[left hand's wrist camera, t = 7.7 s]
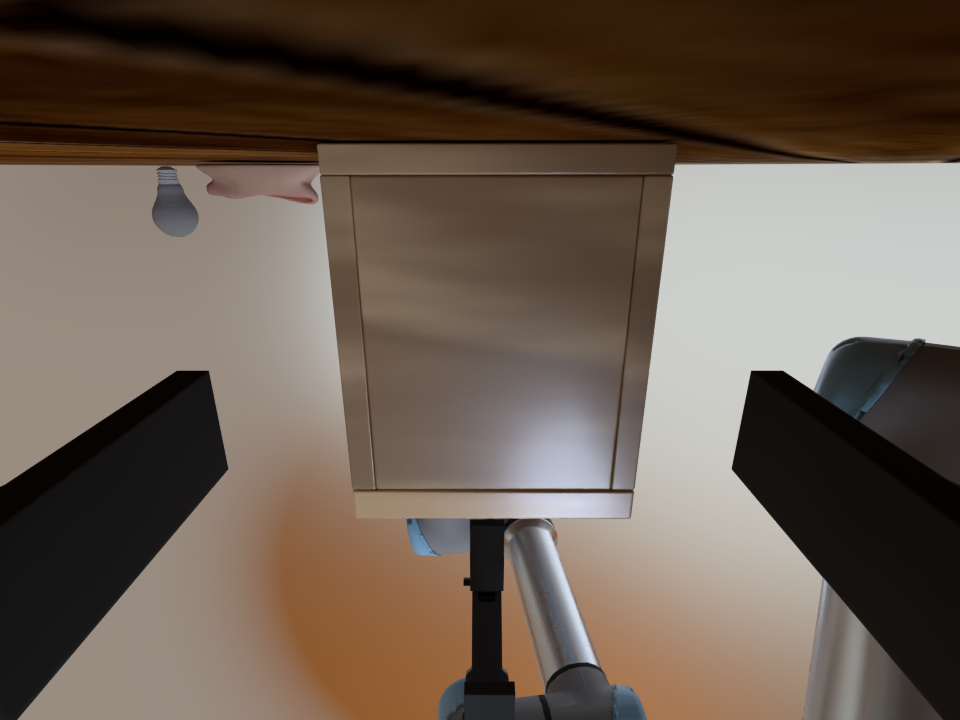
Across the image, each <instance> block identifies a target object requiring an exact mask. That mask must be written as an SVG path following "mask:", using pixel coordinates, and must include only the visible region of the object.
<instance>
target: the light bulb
mask: <svg viewBox="0 0 960 720" xmlns="http://www.w3.org/2000/svg"><path fill="white" fill-rule="evenodd" d="M156 171H158V173H157V174H158V177H159V179H158V182H159V185H158V188H157V191H158V195H157V198H156V201H155V203H154V206H153V209H152V217H153V221H154V223H155V224H156V226H157V227H158V228H159V229H160V230H161V231H163V232H164V233H166V234H167V235H170V236H175V237H183V236H186V235H189V234H191V233H192V232H193V231H194V230H195V228H196V226H197V224H198V220H199V217H198V213H197V210H196V208H195V207H194V206H193V204H192V203H191V202H190V201H189V199H188V198H187V197H186V195H185V194H184V191H183V188H182V186H181V185H180V183H179V180H177V178H178V177H177V174H176V171H177V170H176V169H174V168H171V167H169V166H163V167H160V168H158V169H157V170H156Z"/></svg>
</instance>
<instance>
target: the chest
mask: <svg viewBox="0 0 960 720" xmlns="http://www.w3.org/2000/svg"><path fill="white" fill-rule="evenodd" d="M317 151H318V160H319V170H320V174H321V176H320V181H321V191H322V201H323V210H324V220H325V230H326V239H327V249H328V259H329V268H330V278H331V287H332V297H333V307H334V316H335V326H336V336H337V345H338V355H339V364H340V374H341V383H342V393H343V403H344V413H345V422H346V432H347V442H348V451H349V461H350V470H351V480H352V488H353V489H376V487H377V489H610V487H611V489H613V490H633V489H634V488H635V480H636V472H637V464H638V456H639V447H640V440H641V432H642V424H643V416H644V408H645V399H646V391H647V384H648V375H649V367H650V359H651V351H652V343H653V335H654V327H655V319H656V311H657V303H658V295H659V287H660V279H661V271H662V263H663V255H664V247H665V239H666V231H667V223H668V215H669V207H670V199H671V191H672V183H673V176H672V174H673V173H674V166H675V159H676V151H677V144H676V143H318V144H317Z"/></svg>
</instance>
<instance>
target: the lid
mask: <svg viewBox="0 0 960 720" xmlns="http://www.w3.org/2000/svg"><path fill="white" fill-rule="evenodd" d="M633 495H634V491H633V490H613V489H611V487H610V489H377V487H376V489H354V490H353V497H354V506H355V516H356V518H517V519H630V517H631V511H632V503H633Z"/></svg>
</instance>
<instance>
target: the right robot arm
mask: <svg viewBox="0 0 960 720" xmlns="http://www.w3.org/2000/svg"><path fill="white" fill-rule="evenodd" d="M406 520H407V529H408V535H409V539H410V543H411V546H412V548H413V550H414V552H415V553H417V554H418V555H422V556H425V555H434V556H441V555H442V554H452V553H465V552H470V577H464V586H470V590H471V591H472V667H471V668H470V669H468V670H467V672H466V677H465V678H462V679H460V680H457V681H456V682H454V683H453V684H451V685H450V686H449V687H448V688H447V689H446V690H445V691H444V693H443V694H442V696H441V698H440V701H439V706H438V720H647V718H646V715H645V712H644V709H643V706H642V703H641V701H640V699H639V697H638V696H637V695H636V693H635V692H634V691H633V689H632V688H630V687H629V686H626V685H622V686H618V685H616V684H614V685H612V686H610V684H609V682H608V681H607V678H606V676H605V673H604V670H603V668H602V665H601V663H600V660H599V658H598V655H597V652H596V650H595V647H594V645H593V642H592V640H591V637H590V634H589V632H588V629H587V627H586V624H585V622H584V619H583V616H582V614H581V611H580V609H579V606H578V604H577V601H576V598H575V596H574V593H573V591H572V588H571V586H570V583H569V580H568V578H567V575H566V573H565V570H564V567H563V565H562V562H561V560H560V557H559V555H558V552H557V549H556V545H557V533H556V530H555V528H554V525H553V523H552V521H551V519H517V518H406ZM504 556H505V558H506V559H507V560H508V561H510V562H511V564H512V568H513V572H514V576H515V580H516V584H517V588H518V592H519V596H520V599H521V603H522V607H523V611H524V615H525V619H526V623H527V627H528V630H529V634H530V638H531V642H532V646H533V650H534V654H535V658H536V661H537V665H538V669H539V673H540V677H541V681H542V685H543V688H544V692H545V695H537V696H529V697H520V698H515V684H514V682H509V681H508V674H507V671H506V670H505V669H504V668H503V667H502V616H501V591H503V584H504V583H503V582H504Z"/></svg>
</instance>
